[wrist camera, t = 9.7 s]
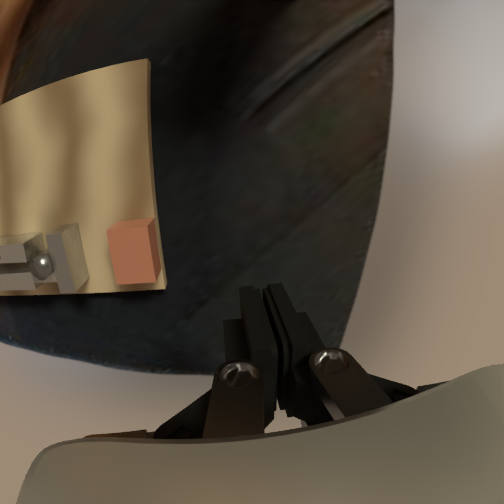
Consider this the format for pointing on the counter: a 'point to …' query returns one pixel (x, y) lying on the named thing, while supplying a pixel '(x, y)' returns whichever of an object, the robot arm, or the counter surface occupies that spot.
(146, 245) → the tab
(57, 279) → the base
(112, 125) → the board
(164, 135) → the counter surface
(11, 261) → the tong jaw
